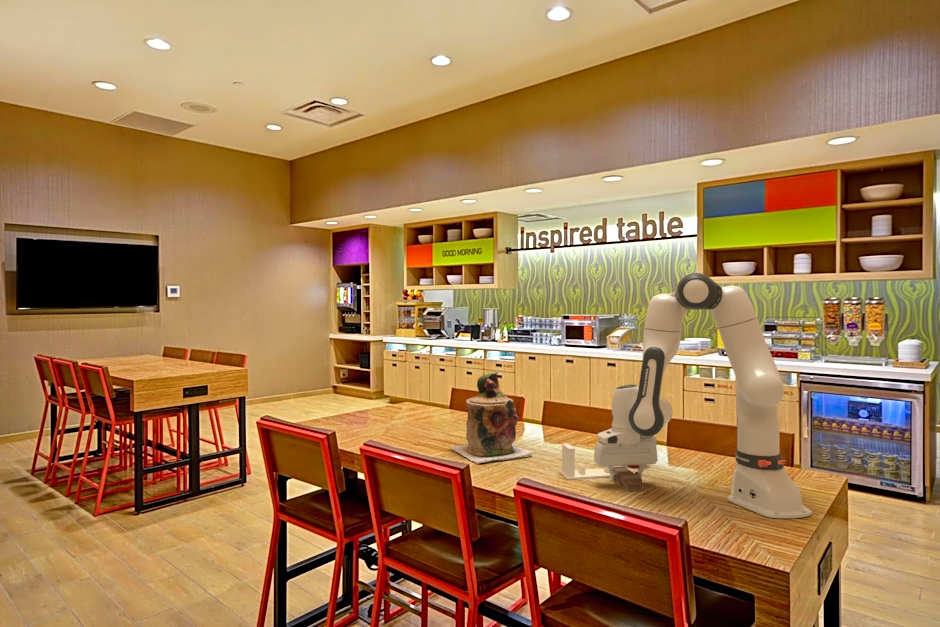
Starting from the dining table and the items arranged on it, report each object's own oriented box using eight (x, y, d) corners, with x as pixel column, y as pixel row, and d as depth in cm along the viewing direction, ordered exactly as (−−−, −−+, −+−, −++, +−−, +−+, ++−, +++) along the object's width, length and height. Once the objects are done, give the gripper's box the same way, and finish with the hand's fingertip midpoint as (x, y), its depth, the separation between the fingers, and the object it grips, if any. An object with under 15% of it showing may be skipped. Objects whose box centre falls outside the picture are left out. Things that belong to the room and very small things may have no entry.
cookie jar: (448, 450, 231) (448, 369, 230) (502, 443, 242) (502, 365, 242) (478, 465, 209) (477, 376, 208) (536, 457, 220) (535, 372, 220)
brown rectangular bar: (642, 492, 180) (642, 479, 180) (628, 492, 180) (628, 479, 180) (624, 478, 194) (624, 466, 194) (611, 479, 194) (611, 467, 194)
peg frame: (620, 469, 204) (620, 440, 203) (630, 476, 196) (630, 446, 195) (559, 472, 200) (559, 443, 200) (567, 479, 192) (567, 449, 192)
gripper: (652, 432, 191) (651, 474, 192) (592, 434, 188) (592, 477, 188) (661, 436, 185) (661, 480, 185) (599, 439, 182) (599, 483, 182)
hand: (625, 478), depth 187 cm, fingers open, 7 cm apart
